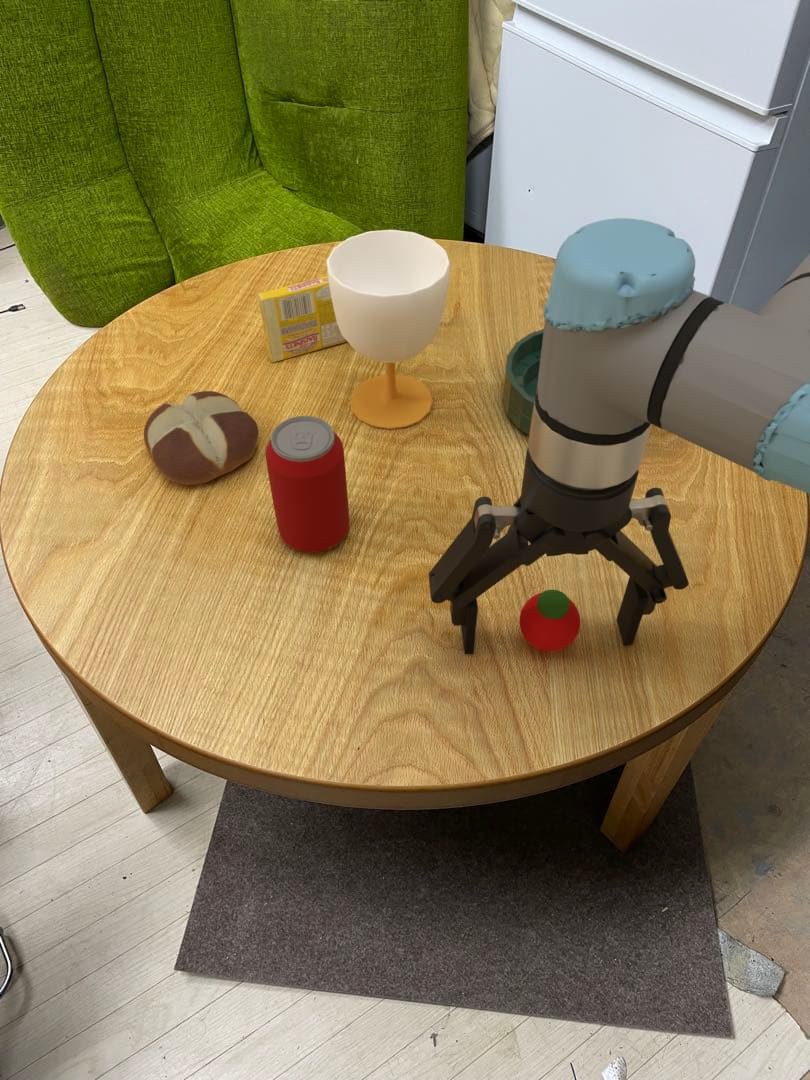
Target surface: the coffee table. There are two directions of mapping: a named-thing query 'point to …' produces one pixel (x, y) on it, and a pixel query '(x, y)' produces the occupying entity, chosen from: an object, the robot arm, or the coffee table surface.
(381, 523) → the coffee table surface
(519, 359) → the bowl
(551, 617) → the tomato
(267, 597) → the coffee table surface
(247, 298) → the coffee table surface
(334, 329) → the candy box
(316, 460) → the beverage can
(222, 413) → the bread
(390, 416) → the cup
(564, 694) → the coffee table surface
